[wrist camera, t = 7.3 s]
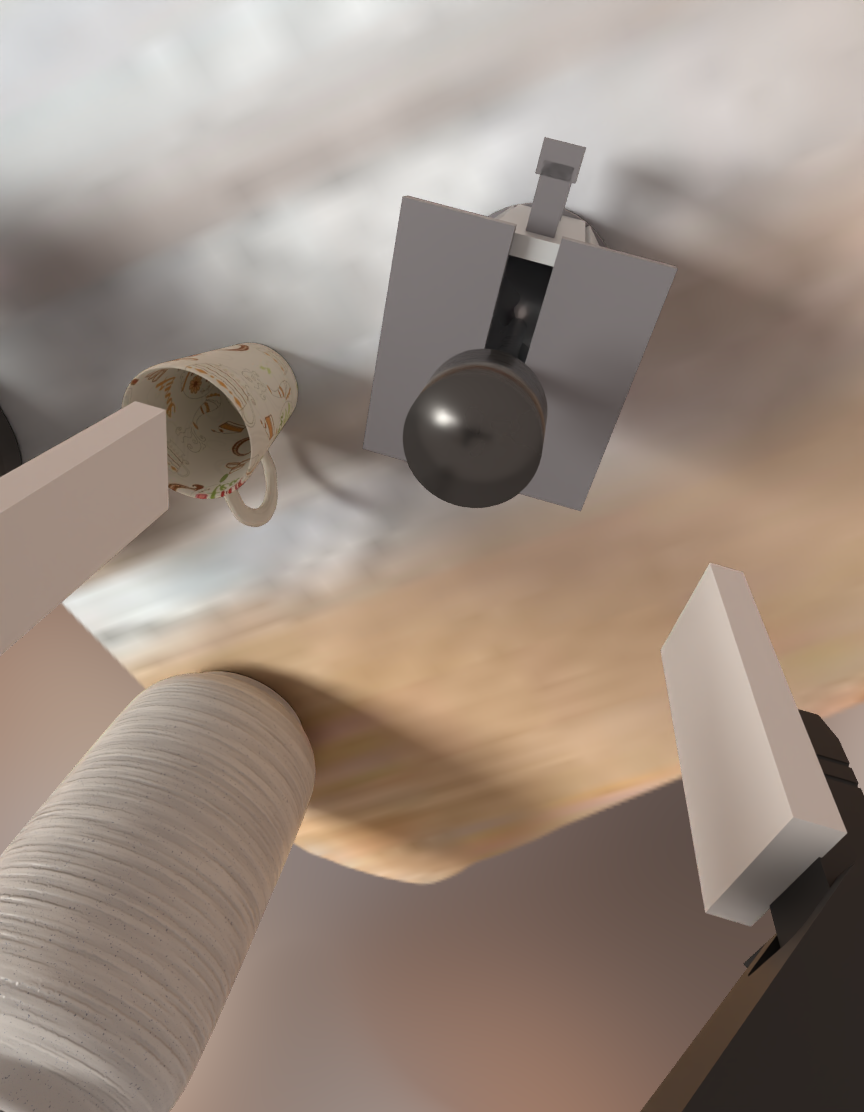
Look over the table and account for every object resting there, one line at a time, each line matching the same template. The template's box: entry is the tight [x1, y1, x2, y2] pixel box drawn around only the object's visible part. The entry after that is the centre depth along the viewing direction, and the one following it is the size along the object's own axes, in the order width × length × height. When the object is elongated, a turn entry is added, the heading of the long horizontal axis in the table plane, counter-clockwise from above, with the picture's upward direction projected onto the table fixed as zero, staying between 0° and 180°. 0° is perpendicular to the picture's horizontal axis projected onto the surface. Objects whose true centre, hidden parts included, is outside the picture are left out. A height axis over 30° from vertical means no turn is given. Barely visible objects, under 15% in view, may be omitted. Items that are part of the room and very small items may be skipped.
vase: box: [0, 671, 316, 1112], centre depth 52 cm, size 20×20×34 cm
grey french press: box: [363, 137, 677, 511], centre depth 32 cm, size 11×14×15 cm
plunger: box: [403, 255, 553, 508], centre depth 27 cm, size 7×7×17 cm
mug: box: [121, 343, 298, 527], centre depth 42 cm, size 8×13×10 cm, turn 15°
